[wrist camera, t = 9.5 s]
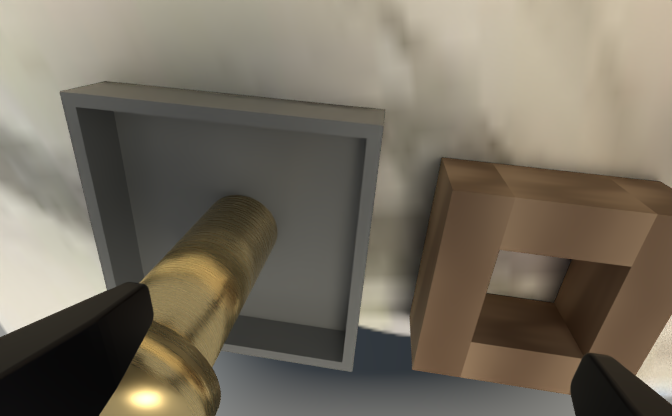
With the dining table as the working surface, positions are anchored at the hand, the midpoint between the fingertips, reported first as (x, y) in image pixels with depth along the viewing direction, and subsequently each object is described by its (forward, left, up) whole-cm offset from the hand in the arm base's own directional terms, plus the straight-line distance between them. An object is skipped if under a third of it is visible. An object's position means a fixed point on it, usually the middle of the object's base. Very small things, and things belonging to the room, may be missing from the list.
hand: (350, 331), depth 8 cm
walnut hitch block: (-8, +5, -13) cm, 16 cm away
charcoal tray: (+7, +5, -13) cm, 15 cm away
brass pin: (+7, +5, -12) cm, 15 cm away
